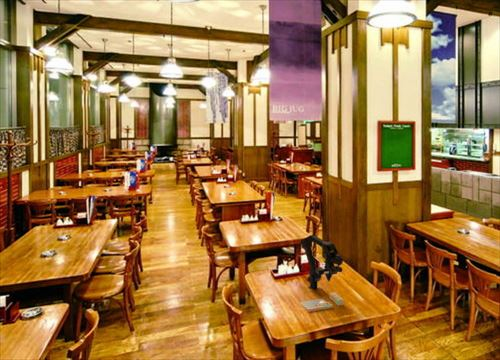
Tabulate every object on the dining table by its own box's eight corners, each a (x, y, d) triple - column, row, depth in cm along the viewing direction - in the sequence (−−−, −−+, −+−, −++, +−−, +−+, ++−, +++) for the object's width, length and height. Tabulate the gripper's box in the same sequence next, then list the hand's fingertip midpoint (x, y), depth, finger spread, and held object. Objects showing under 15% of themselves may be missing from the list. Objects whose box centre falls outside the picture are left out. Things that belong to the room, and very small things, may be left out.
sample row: (328, 299, 253) (329, 293, 252) (334, 298, 254) (335, 292, 254) (337, 307, 242) (337, 300, 241) (343, 305, 244) (344, 299, 243)
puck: (317, 304, 244) (317, 301, 243) (324, 303, 245) (324, 300, 245) (321, 308, 239) (321, 304, 239) (327, 307, 240) (327, 303, 240)
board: (299, 303, 247) (299, 300, 246) (322, 299, 252) (322, 296, 252) (308, 313, 235) (308, 309, 234) (332, 308, 240) (332, 304, 240)
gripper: (322, 266, 241) (322, 288, 244) (346, 263, 247) (346, 284, 249) (315, 260, 252) (314, 281, 255) (338, 257, 257) (337, 277, 260)
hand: (328, 281), depth 254 cm, fingers closed
